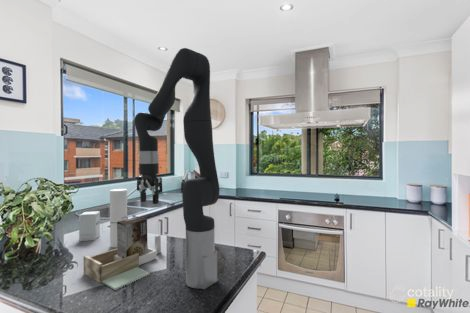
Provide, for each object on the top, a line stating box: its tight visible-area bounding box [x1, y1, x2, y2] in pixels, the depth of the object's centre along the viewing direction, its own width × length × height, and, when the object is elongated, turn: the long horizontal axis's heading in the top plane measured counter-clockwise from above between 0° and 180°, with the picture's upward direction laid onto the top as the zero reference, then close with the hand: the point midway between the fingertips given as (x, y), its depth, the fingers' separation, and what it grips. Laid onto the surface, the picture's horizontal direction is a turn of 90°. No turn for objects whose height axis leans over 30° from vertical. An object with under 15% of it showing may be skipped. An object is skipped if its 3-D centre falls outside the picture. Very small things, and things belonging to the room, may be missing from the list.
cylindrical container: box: [109, 188, 128, 248], centre depth 114 cm, size 7×7×25 cm
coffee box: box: [116, 216, 149, 258], centre depth 95 cm, size 9×6×16 cm
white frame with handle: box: [114, 234, 162, 266], centre depth 98 cm, size 9×17×7 cm, turn 143°
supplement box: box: [78, 210, 101, 242], centre depth 123 cm, size 7×7×13 cm
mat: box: [102, 267, 151, 291], centre depth 82 cm, size 8×12×1 cm, turn 143°
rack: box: [83, 248, 140, 284], centre depth 88 cm, size 12×14×6 cm
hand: (149, 202), depth 100 cm, fingers open, 8 cm apart
